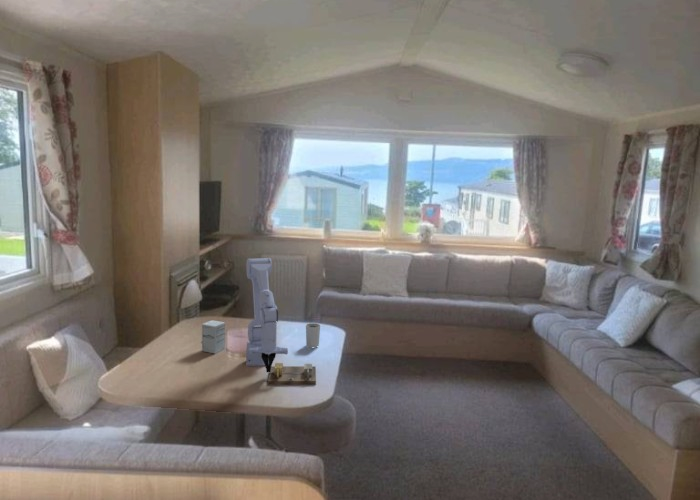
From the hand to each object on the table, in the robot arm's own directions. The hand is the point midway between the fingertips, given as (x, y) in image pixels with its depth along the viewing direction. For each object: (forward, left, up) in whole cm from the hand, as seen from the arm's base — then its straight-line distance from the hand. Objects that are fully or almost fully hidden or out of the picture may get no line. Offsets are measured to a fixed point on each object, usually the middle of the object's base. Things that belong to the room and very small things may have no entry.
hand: (268, 371), depth 188 cm
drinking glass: (+17, +35, -3) cm, 39 cm away
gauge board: (+9, 0, -2) cm, 10 cm away
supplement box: (-27, +29, -3) cm, 39 cm away
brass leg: (+4, -2, -1) cm, 4 cm away
